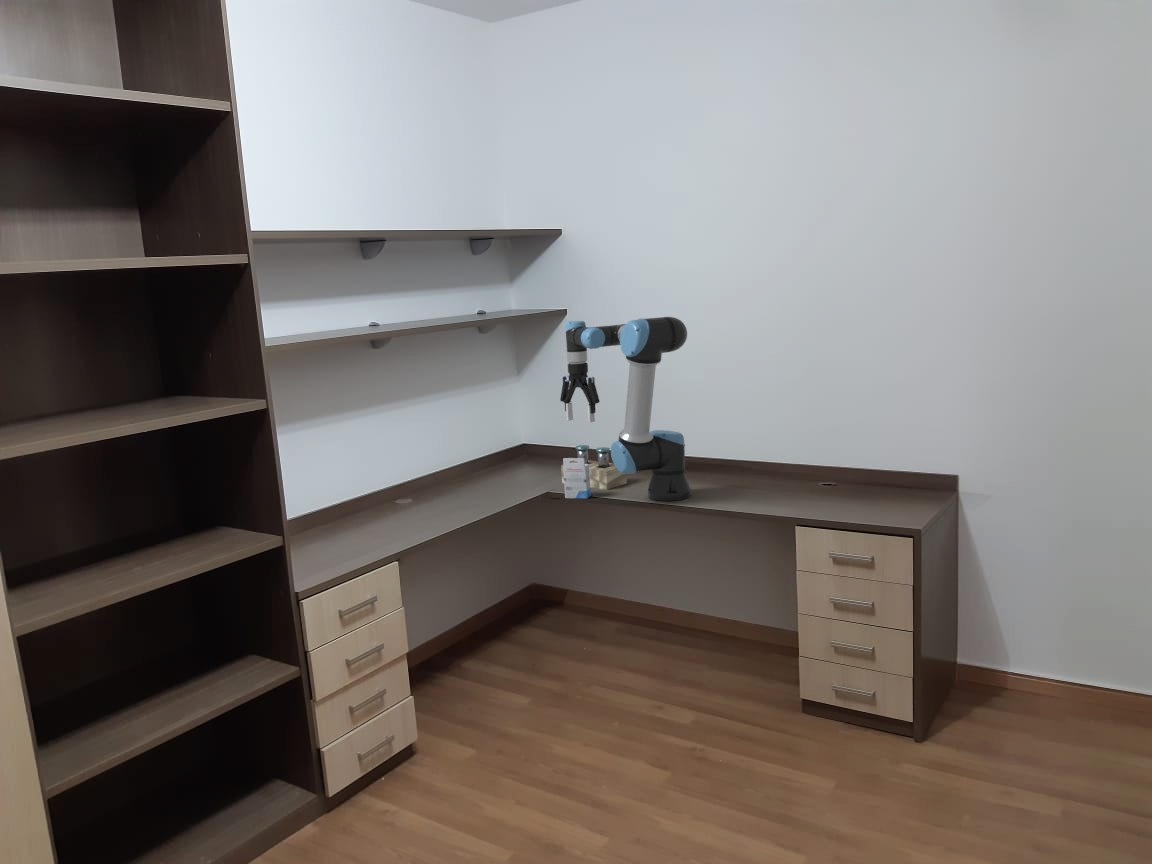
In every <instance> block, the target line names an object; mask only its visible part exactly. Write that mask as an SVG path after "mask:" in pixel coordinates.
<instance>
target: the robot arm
mask: <svg viewBox="0 0 1152 864" xmlns="http://www.w3.org/2000/svg"><path fill="white" fill-rule="evenodd" d="M586 325H587V324H586V322H585V321H584V320H574V321H568V322H566V323H565V340H566V341H565V342H566V359H567V360H566V361H567V372H568V374H569V375H566V376H562V386H561V393H560V400H559V401H560V402H563V404H564V411H565V412H566V421H567V422H568V421H573V420H574V414H573V413H574V412H573V402H572V398H573V396H574V394H575V391H576V389H577V388H580V389H581V390H582V391H583V394H584V396H585V397H586V400H587V402H588V405H587V416H588V419H587V420H588V423H594V422H595V421H596V419H595V413H596V411H597V410H596V405H597V404H599V403H600V399H599V398H600V397H599V394H598V391H597V387H596V382H595V380H596V379H595V377H594V376H591V377H589V376H588V373H589V365H588V349H590V350H594V349H599V348H604V347H612V346H615V347H616V346H620V349H621V352H622V353H623V355H625V359H626V361H627V362H628V363H629V370H628V382H627V391H626V392H627V394H626V402H625V403H626V406H625V412H624V413H625V416H624V428H623V429H622V430H621V431H620V432H619V434H618V440H615V441H614V442H613V443H612V444H611V446H610V456H611V459H612V463H614V465H615V467H616V468H617V470H618V471H619V472H621V473H622V474H626V475H630V474H632V475H635V474H637V473H642V472H649V471H651V477H650V482H649V485H648V489H647V497H648V498H649V499H651V500H654V501H665V502H668V501H669V502H670V501H671V502H672V501H681V500H684V499H685V500H686V499H688V498H690V497H691V496H692V488H691V486H690V483H689V481H688V478H687V475H686V459H685V458H686V455H685V449H686V448H685V446H686V445H685V437H684V435H683V434H682V433H681V432H679V431H672V430H663V429H662V430H661V429H658V430H657V429H656V430H651V431H650V427H651V419H652V418H651V416H652V408H653V396H654V387H655V378H656V377H655V376H656V369H657V365H658V364H660V363H661V361H662V355H663V353H664V354H666V353H671V352H675V351H677V350H680V349H681V348H682V347H683V346H684V344H685V343H686V341H687V339H688V330H687V329H688V328H687V326H686V325H685V323H684V322H683V321H682V320H681V319H679V318H677V317H674V316H662V317H650V318H648V317H647V318H638V319H632V320H630V321H627V323H623V324H614V325H612V324H611V325H601V326H592V327H591V326H590V327H589V326H588V327H587V326H586Z"/></svg>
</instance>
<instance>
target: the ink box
mask: <svg viewBox="0 0 1152 864" xmlns="http://www.w3.org/2000/svg"><path fill="white" fill-rule="evenodd" d="M562 460H563V461H562V465H563V473H564V483H563V485H564V498H565V499H585V500H586V499H588V498H590V497H591V495H592V493H591V492H592V491H591V487H590V474H589V464H585V460H584V458H578V457H576V458H575V457H568V458H567V457H564V458H563V459H562ZM574 461H577V462H578V463H571V462H574Z"/></svg>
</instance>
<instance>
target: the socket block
mask: <svg viewBox="0 0 1152 864" xmlns="http://www.w3.org/2000/svg"><path fill="white" fill-rule="evenodd" d="M570 463H578V462H577V461H570ZM588 464H589V474H590V489H598V490H605V491H608V490H612V489H614V488H617V487H620V486H623V485H626V484H627V483H628V481H627V480H628V479H627V478H628V477H627V475H628V474H622V473H621V472H619V471H618V470H617V468H616V467H615V465H614V463H613V462H609V467H608V468H598V460H589V459H588ZM560 468H561V469H560V470H561V484H564V473H563V464H561V465H560Z"/></svg>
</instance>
